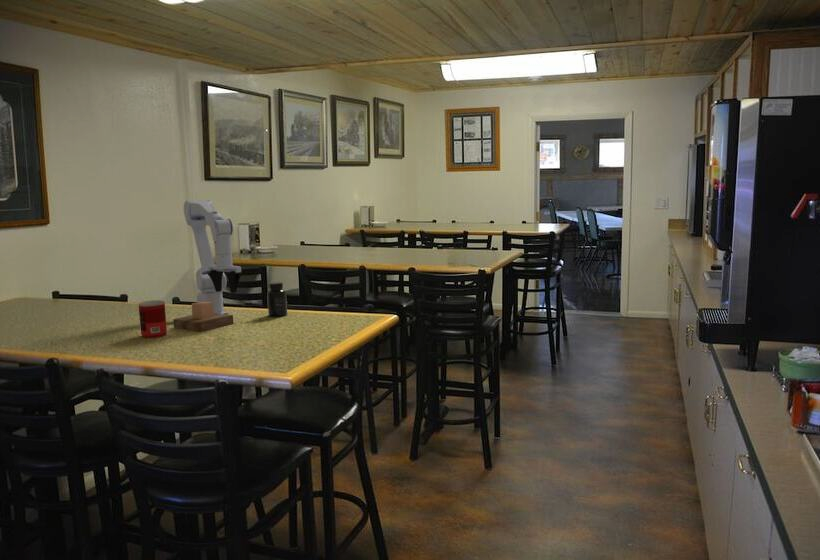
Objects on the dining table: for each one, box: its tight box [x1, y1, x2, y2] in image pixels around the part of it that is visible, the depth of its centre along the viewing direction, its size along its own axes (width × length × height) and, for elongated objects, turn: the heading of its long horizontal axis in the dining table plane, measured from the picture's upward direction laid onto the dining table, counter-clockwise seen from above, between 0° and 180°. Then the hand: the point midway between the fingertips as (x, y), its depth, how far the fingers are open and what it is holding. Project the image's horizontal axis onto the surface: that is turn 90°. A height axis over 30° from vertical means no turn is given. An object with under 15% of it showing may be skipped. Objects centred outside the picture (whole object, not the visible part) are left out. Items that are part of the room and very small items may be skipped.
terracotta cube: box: [191, 301, 214, 319], centre depth 232 cm, size 5×5×5 cm
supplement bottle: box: [266, 281, 288, 318], centre depth 247 cm, size 7×7×12 cm
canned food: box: [138, 299, 168, 339], centre depth 219 cm, size 8×8×11 cm
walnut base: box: [172, 313, 234, 332], centre depth 233 cm, size 14×14×3 cm
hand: (226, 291), depth 239 cm, fingers open, 7 cm apart
